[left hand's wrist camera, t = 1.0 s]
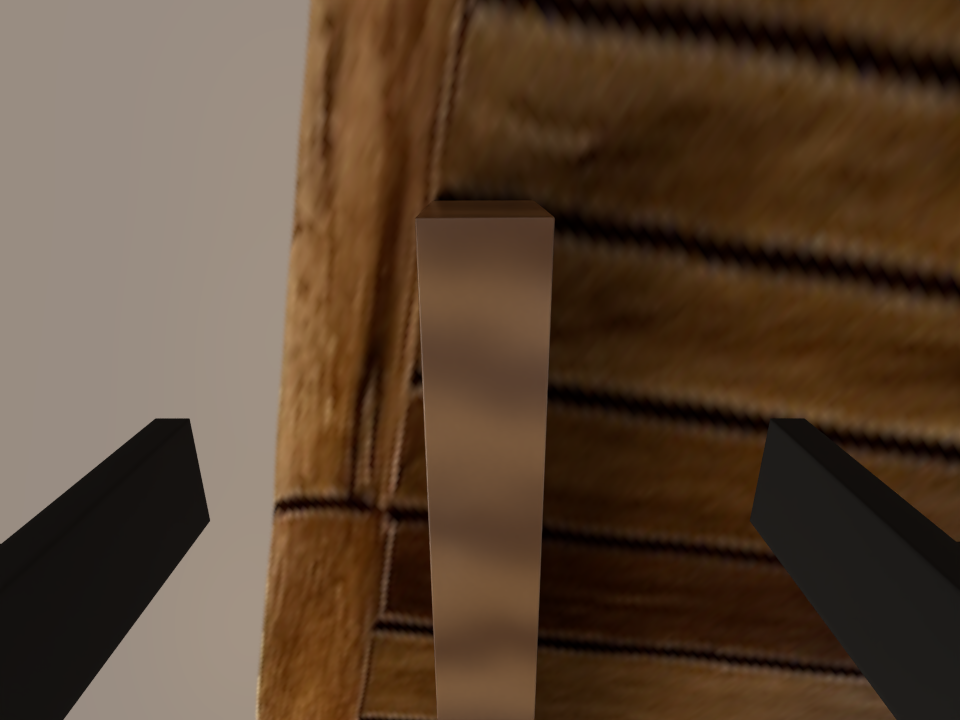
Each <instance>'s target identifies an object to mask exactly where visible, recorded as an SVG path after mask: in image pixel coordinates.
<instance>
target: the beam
mask: <svg viewBox="0 0 960 720" xmlns="http://www.w3.org/2000/svg"><path fill="white" fill-rule="evenodd" d="M554 223H555V218H554V217H553V216H552V215H551V214H550V213H548V212H547V211H546V210H545V209H544V208H542V207H541V206H540V205H539V204H538V203H536V202H535V201H534V200H479V201H432V202H431V203H430V204H429V205H428V206H427V207H426V208H425V209H424V210H423V211H422V212H421V213H420V214H419V215H418V216H417V217H416V218H415V230H416V252H417V275H418V297H419V319H420V341H421V364H422V386H423V408H424V431H425V453H426V475H427V498H428V520H429V542H430V564H431V587H432V609H433V631H434V654H435V676H436V698H437V720H534V719H535V695H536V670H537V645H538V620H539V595H540V570H541V546H542V521H543V496H544V471H545V446H546V421H547V397H548V372H549V347H550V322H551V297H552V272H553V248H554Z"/></svg>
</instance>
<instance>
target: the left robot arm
mask: <svg viewBox="0 0 960 720" xmlns="http://www.w3.org/2000/svg"><path fill="white" fill-rule="evenodd" d="M209 522H210V518H209V513H208V508H207V503H206V498H205V493H204V488H203V483H202V478H201V473H200V468H199V463H198V458H197V453H196V448H195V443H194V438H193V433H192V429H191V424H190V419H154V420H153V421H152V422H151V423H149V424H148V425H147V426H146V427H145V428H143V429H142V430H141V431H140V432H138V433H137V434H136V435H135V436H134V437H132V438H131V439H130V440H129V441H127V442H126V443H125V444H124V445H122V446H121V447H120V448H119V449H117V450H116V451H115V452H114V453H113V454H111V455H110V456H109V457H108V458H106V459H105V460H104V461H103V462H102V463H100V464H99V465H98V466H97V467H95V468H94V469H93V470H92V471H90V472H89V473H88V474H87V475H86V476H84V477H83V478H82V479H81V480H79V481H78V482H77V483H76V484H74V485H73V486H72V487H71V488H70V489H68V490H67V491H66V492H65V493H63V494H62V495H61V496H60V497H58V498H57V499H56V500H55V501H54V502H52V503H51V504H50V505H49V506H47V507H46V508H45V509H44V510H42V511H41V512H40V513H39V514H38V515H36V516H35V517H34V518H33V519H31V520H30V521H29V522H28V523H26V524H25V525H24V526H23V527H22V528H20V529H19V530H18V531H17V532H15V533H14V534H13V535H12V536H10V537H9V538H8V539H7V540H6V541H4V542H3V543H2V544H0V720H63V719H64V718H65V717H66V715H67V714H68V713H69V711H70V710H71V709H72V707H73V706H74V705H75V703H76V702H77V701H78V699H79V698H80V696H81V695H82V694H83V692H84V691H85V690H86V688H87V687H88V686H89V684H90V683H91V681H92V680H93V679H94V677H95V676H96V675H97V673H98V672H99V671H100V669H101V668H102V667H103V665H104V664H105V663H106V661H107V660H108V658H109V657H110V656H111V654H112V653H113V652H114V650H115V649H116V648H117V646H118V645H119V644H120V642H121V641H122V639H123V638H124V637H125V635H126V634H127V633H128V631H129V630H130V629H131V627H132V626H133V625H134V623H135V622H136V621H137V619H138V618H139V616H140V615H141V614H142V612H143V611H144V610H145V608H146V607H147V606H148V604H149V603H150V602H151V600H152V599H153V597H154V596H155V595H156V593H157V592H158V591H159V589H160V588H161V587H162V585H163V584H164V583H165V581H166V580H167V578H168V577H169V576H170V574H171V573H172V572H173V570H174V569H175V568H176V566H177V565H178V564H179V562H180V561H181V560H182V558H183V557H184V555H185V554H186V553H187V551H188V550H189V549H190V547H191V546H192V544H193V543H194V542H195V540H196V539H197V538H198V536H199V535H200V534H201V532H202V531H203V530H204V528H205V527H206V526H207V524H208V523H209ZM750 522H751V523H752V524H753V526H754V527H755V528H756V530H757V531H758V532H759V534H760V535H761V536H762V538H763V539H764V541H765V542H766V543H767V545H768V546H769V547H770V549H771V550H772V551H773V553H774V554H775V555H776V557H777V558H778V560H779V561H780V562H781V564H782V565H783V566H784V568H785V569H786V570H787V572H788V573H789V574H790V576H791V577H792V578H793V580H794V581H795V583H796V584H797V585H798V587H799V588H800V589H801V591H802V592H803V593H804V595H805V596H806V597H807V599H808V600H809V602H810V603H811V604H812V606H813V607H814V608H815V610H816V611H817V612H818V614H819V615H820V616H821V618H822V619H823V621H824V622H825V623H826V625H827V626H828V627H829V629H830V630H831V631H832V633H833V634H834V635H835V637H836V638H837V639H838V641H839V642H840V644H841V645H842V646H843V648H844V649H845V650H846V652H847V653H848V654H849V656H850V657H851V658H852V660H853V661H854V663H855V664H856V665H857V667H858V668H859V669H860V671H861V672H862V673H863V675H864V676H865V677H866V679H867V680H868V682H869V683H870V684H871V686H872V687H873V688H874V690H875V691H876V692H877V694H878V695H879V696H880V698H881V699H882V701H883V702H884V703H885V705H886V706H887V707H888V709H889V710H890V711H891V713H892V714H893V715H894V717H895V718H896V719H897V720H960V542H956V541H954V540H953V539H952V538H951V537H950V536H948V535H947V534H946V533H945V532H943V531H942V530H941V529H940V528H938V527H937V526H936V525H935V524H934V523H932V522H931V521H930V520H929V519H927V518H926V517H925V516H924V515H922V514H921V513H920V512H919V511H918V510H916V509H915V508H914V507H913V506H911V505H910V504H909V503H908V502H906V501H905V500H904V499H903V498H902V497H900V496H899V495H898V494H897V493H895V492H894V491H893V490H892V489H890V488H889V487H888V486H887V485H886V484H884V483H883V482H882V481H881V480H879V479H878V478H877V477H876V476H874V475H873V474H872V473H871V472H870V471H868V470H867V469H866V468H865V467H863V466H862V465H861V464H860V463H859V462H857V461H856V460H855V459H854V458H852V457H851V456H850V455H849V454H847V453H846V452H845V451H844V450H843V449H841V448H840V447H839V446H838V445H836V444H835V443H834V442H833V441H831V440H830V439H829V438H828V437H827V436H825V435H824V434H823V433H822V432H820V431H819V430H818V429H817V428H815V427H814V426H813V425H812V424H811V423H809V422H808V421H807V420H806V419H770V424H769V428H768V433H767V438H766V443H765V448H764V453H763V458H762V463H761V468H760V473H759V478H758V483H757V488H756V493H755V498H754V503H753V508H752V513H751V518H750Z"/></svg>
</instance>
